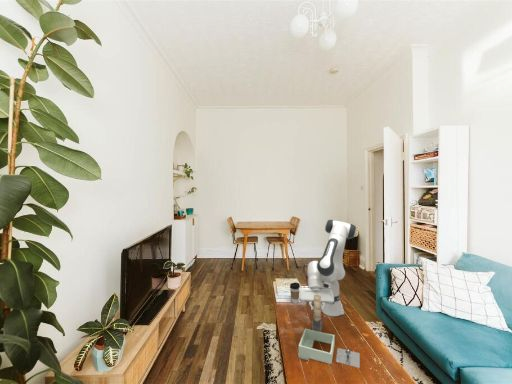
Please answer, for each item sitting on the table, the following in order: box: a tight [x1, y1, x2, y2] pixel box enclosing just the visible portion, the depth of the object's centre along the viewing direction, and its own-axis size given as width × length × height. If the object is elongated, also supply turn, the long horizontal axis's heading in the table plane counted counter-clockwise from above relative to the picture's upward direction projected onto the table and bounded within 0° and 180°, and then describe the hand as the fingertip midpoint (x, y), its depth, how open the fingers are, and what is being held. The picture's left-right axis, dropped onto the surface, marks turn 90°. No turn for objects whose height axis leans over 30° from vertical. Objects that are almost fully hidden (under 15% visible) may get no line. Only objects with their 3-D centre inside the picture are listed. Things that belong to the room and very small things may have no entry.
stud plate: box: [335, 347, 361, 369], centre depth 137 cm, size 12×12×6 cm
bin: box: [298, 328, 336, 365], centre depth 143 cm, size 18×18×7 cm
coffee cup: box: [289, 282, 301, 304], centre depth 204 cm, size 8×8×15 cm
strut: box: [311, 295, 323, 332], centre depth 142 cm, size 5×5×19 cm
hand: (317, 310), depth 142 cm, fingers closed on strut, 4 cm apart
